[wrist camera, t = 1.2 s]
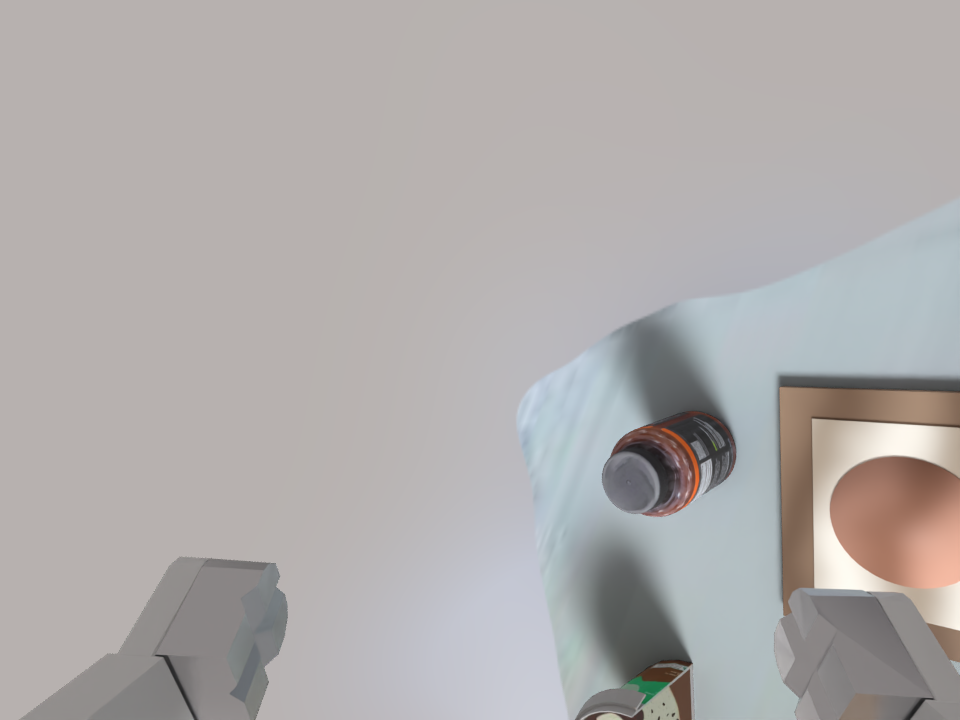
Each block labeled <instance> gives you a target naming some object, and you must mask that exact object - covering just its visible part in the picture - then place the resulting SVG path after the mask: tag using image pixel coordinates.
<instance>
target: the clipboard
mask: <svg viewBox="0 0 960 720" xmlns="http://www.w3.org/2000/svg"><path fill="white" fill-rule="evenodd" d="M779 391H780V446H781V502H782V558H783V614H784V616H787V615H788V614H790V613H792V611H791V608H790V606H789V604H788V601H789V598H790V596H791V594H792V592H793V591H795V590H797V589H798V588H820V589H850V590H863V591H875V592H898V593H903V594H905V595H906V596H907V597H908V598H909V599H911V600H912V602H913V603H914V605H915V606H916V608H917V609H918V611H919V613H920V614H921V616H922V617H923V619H924V620H925V622H926V624H927V625H928V627H929V628H930V630H931V631H932V633H933V635H934V636H935V638H936V639H937V641H938V643H939V644H940V646H941V647H942V649H943V650H944V652H945V654H946V655H947V657H948V658H949V660H953V661H957V662H960V391H927V390H894V389H861V388H827V387H794V386H782V387H779Z"/></svg>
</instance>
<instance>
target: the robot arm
mask: <svg viewBox="0 0 960 720" xmlns="http://www.w3.org/2000/svg"><path fill="white" fill-rule="evenodd" d="M279 578H280V575H279V572H278V569H277V566H276V563H266V562H251V561H238V560H223V559H212V558H193V557H179V558H178V559H177V560H176V561H174V562H173V563H172V564H171V565H170V566H169V567H168V569H167V571H166V573H165V574H164V576H163V578H162V579H161V581H160V583H159V584H158V586H157V588H156V589H155V591H154V593H153V595H152V596H151V598H150V600H149V601H148V603H147V605H146V607H145V608H144V610H143V611H142V613H141V615H140V617H139V618H138V620H137V622H136V623H135V625H134V627H133V628H132V630H131V632H130V633H129V635H128V637H127V638H126V640H125V642H124V644H123V645H122V647H121V649H120V650H119V652H118V654H107V655H105V656H104V657H103V658H101V659H100V660H99V661H97V662H96V663H95V664H93V665H92V666H91V667H89V668H88V669H87V670H85V671H84V672H82V673H81V674H80V675H78V676H77V677H76V678H74V679H73V680H72V681H70V682H69V683H68V684H66V685H65V686H64V687H62V688H61V689H60V690H58V691H57V692H56V693H54V694H53V695H52V696H50V697H49V698H48V699H46V700H45V701H44V702H42V703H41V704H40V705H38V706H37V707H36V708H34V709H33V710H32V711H30V712H29V713H28V714H26V715H25V716H24V717H22V718H21V719H20V720H255V719H256V716H257V714H258V711H259V708H260V705H261V702H262V699H263V697H264V694H265V691H266V688H267V685H268V683H269V681H268V678H267V675H266V672H265V669H264V667H265V666H266V665H267V664H268V663H269V662H270V661H272V659H274V658H275V657H276V656H277V655H278V654H279V651H280V648H281V645H282V642H283V639H284V636H285V630H286V624H287V618H288V612H287V601H286V597H285V594H284V593H283V592H281V591H280V590H279V589H278V588H277V587H276V585H277V583H278V580H279ZM788 604H789V606H790V608H791V611H792V613H790V614H788V615H787V616H785V617H783V618H781V619H780V620H779V623H778V625H777V628H776V630H775V633H774V652H775V657H776V662H777V666H778V669H779V672H780V675H781V677H782V680H783V683H784V684H786V685H787V686H788V687H789V688H790V689H791V690H792V691H793V692H794V693H795V694H796V695H797V696H798V697H799V700H798V703H797V706H796V709H795V712H794V713H795V715H796V718H797V720H960V676H959V674H958V672H957V671H956V669H955V668H954V666H953V665H952V663H951V661H950V660H949V658H948V657H947V655H946V654H945V652H944V650H943V649H942V647H941V646H940V644H939V643H938V641H937V639H936V638H935V636H934V635H933V633H932V631H931V630H930V628H929V627H928V625H927V624H926V622H925V620H924V619H923V617H922V616H921V614H920V613H919V611H918V609H917V608H916V606H915V605H914V603H913V602H912V600H911V599H909V598H908V597H907V596H906V595H905V594H903V593H898V592H875V591H863V590H850V589H820V588H798V589H797V590H795V591H793V592H792V594H791V596H790V598H789V601H788Z"/></svg>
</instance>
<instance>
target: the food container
mask: <svg viewBox="0 0 960 720" xmlns="http://www.w3.org/2000/svg"><path fill="white" fill-rule="evenodd" d="M575 720H695V714H694V687H693V663H689V662H685V661H681V660H666V661H660V662H658V663H656V664H654V665H652V666H650V667H648V668H647V669H646V670H644V671H643V672H642V673H640V674H639V675H637V676H636V677H635V678H633V679H632V680H631V681H629V682H628V683H627V684H625V685H624V686H622V687H621V688H620V689H609V690H605V691H601V692H599V693H597V694H596V695H594V696H592V697H591V698H590V699H589V700H588V701H587V702H586V703H585V704H584V705H583V707H582V709H581V710H580V712H579V713H578V715H577V717H576V719H575Z"/></svg>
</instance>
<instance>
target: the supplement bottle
mask: <svg viewBox="0 0 960 720" xmlns="http://www.w3.org/2000/svg"><path fill="white" fill-rule="evenodd" d="M735 460H736V447H735V444H734V440H733V438H732V436H731V434H730V432H729V431H728V429H727V428H726V427H725V426H724V425H723V424H722V423H721V422H720V421H719V420H717V419H716V418H715V417H713V416H711V415H708V414H705V413H702V412H695V411H689V412H683V413H679V414H676V415H674V416H671V417H668V418H665V419H663V420H660V421H657V422H654V423H652V424H649V425H646V426H643V427H640V428H638V429H635V430H633V431H631V432H629V433H628V434H626V435H624V436H623V437H622V438H621V439H620V440H619V441H618V442H617V444H616V445H615V447H614V449H613V451H612V454H611V457H610V458H609V459H608V460H607V462H606V464H605V466H604V468H603V473H602V483H603V487H604V490H605V493H606V494H607V496H608V498H609V499H610V501H611V502H612V503H613V504H614V505H615V506H616V507H618V508H619V509H621V510H622V511H625V512H627V513H632V514H643V515H646V516H653V517H662V516H667V515H671V514H673V513H675V512H677V511H679V510H681V509H682V508H684V507H686V506H687V505H689V504H690V503H692V502H693V501H695V500H696V499H698V498H699V497H701V496H702V495H704V494H705V493H707V492H708V491H710V490H711V489H713V488H714V487H716V486H718V485H719V484H720V483H722V482H723V481H724V480H725V479H726V478H727V477H728V476H729V475H730V473H731V472H732V470H733V468H734V465H735Z"/></svg>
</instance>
